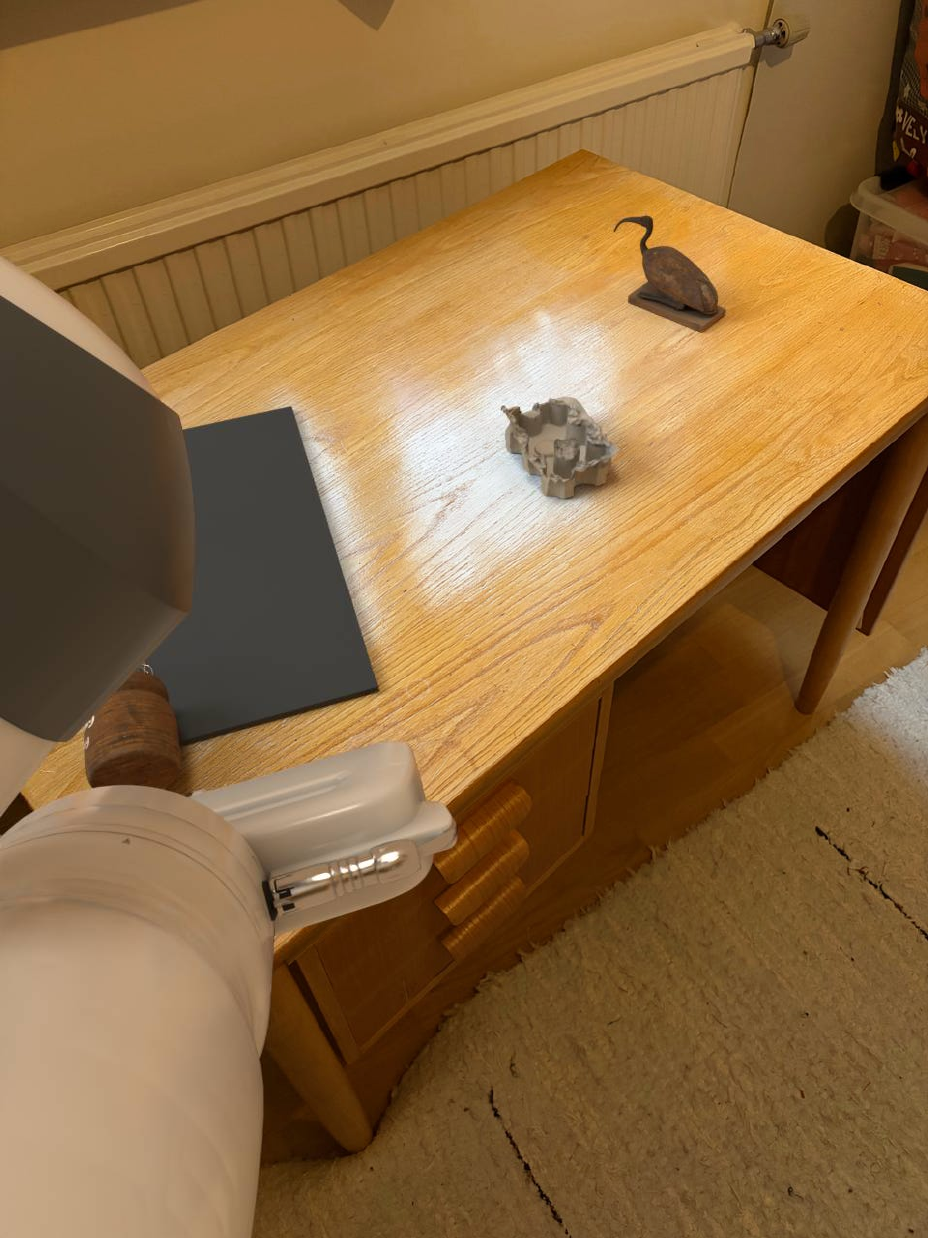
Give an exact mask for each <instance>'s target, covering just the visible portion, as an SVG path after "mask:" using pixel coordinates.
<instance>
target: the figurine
mask: <svg viewBox="0 0 928 1238" xmlns="http://www.w3.org/2000/svg"><path fill="white" fill-rule="evenodd" d="M623 223H624V224H625V223H632V224H637V225H639V226H640V227H643V228H645V233H644V235H643V236H642V237H641V238H640V241H639V250H640V253H641V266H642V270H643V272H644V276H645V277H644V278H645V279H646V281H647V282H645V283H644V284H642V285H641V286H639V287H638V288H636V290H634V291H632V292H631V293H630V294H628V297H627V302H628V303H629V304H630V305H631V304H632V305H634V306H636V307H639V308H641V309H644V310H646V311H648V312H650V313H653V314H655V315H658V316H660V317H662V318H665V319H667V320H670V321H672V322H674V323H677V324H679V325H682V326H684V327H686V328H689V329H692V330H694V331H697V332H699V333H703V332H704V331H706V330H707V329H708V328H710V327H712V326H713V325H714V324H715V323H716V322H718V321H719V320H720V319H722V318H723V317H724V316H725V315H726V312H727V309H726V308H725V307H724V306H720V305H719V295H718V294H719V293H718V291H717V288H716V287H715V286H714V284H713V282H712V281H711V280H710V278H709V277H708V276H707V274H706V273H705V272H703V271H702V269H701V267H698V265H697V264H696V263H694V262H693V261H692V260H691V259H690V257H688V256H686V255H685V254H684V253H682V251H680V250H678V249H676V248H674V247H672V246H670V245H669V246H668V245H658V246H654V247H650V248H649V247H648V246H647V241H648V240H649V238H650V237H651V236H652V234H653V230H654V219H653V217H652V216H650V215H642V216H629V217H625V218H622V219H621V220H619V221H618V222H617V223H616V225H615V227H614V228H613V231H612V232H613V233H616V232H617V230H618V227H619V226H620V225H621V224H623Z"/></svg>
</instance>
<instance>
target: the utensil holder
mask: <svg viewBox="0 0 928 1238" xmlns="http://www.w3.org/2000/svg"><path fill="white" fill-rule="evenodd" d="M143 663H144V662H143ZM141 665H144V672H140V671H139V670H138V671H135V672H134V673H133V674H132V675H131V676H130V677H129V678H128V679H127V680H126V681H125V682H124V684H123V685H122V686H121V687H120V688H119V689H118V690H117V691H116V692H115V693H114V694H113V695H112V696H111V697H110V699H109V700H108V701H107V702H106V703H105V704H104V705H103V706H102V707H101V708H100V709H99V710H98V711H97V712H96V714H95V715H94V716H93V717H92V718H91V719H90V720H89V721H88V722H87V723H86V724H85V725H84V726H83V751H84V753H83V754H84V768H85V769H84V771H85V777H86V780H87V782H88V784H89V786H90V788H91V789H92V788H97V787H105V786H114V785H135V786H147V787H153V788H158V789H163V790H166V789H167V788H169V786H171V785H172V784H173V783H174V782H175V781H176V779H177V778H178V777H179V774H180V771H181V750H180V749H181V746H179V738H178V729H177V722H176V717H175V713H174V711H173V708H172V707H171V705H170V704H169V695H168V692H167V689H166V686H165V684H164V683H163V681H162V680H161V679H159V678H158V677H156V676H154V675H153V672H152V674H149V673H146V672H147V671H146V670H145V664H141ZM146 666H148V665H146ZM139 667H140V666H139ZM148 667H149V666H148ZM140 668H142V667H140ZM142 669H143V668H142ZM150 669H151V668H150ZM151 670H152V669H151ZM145 671H146V672H145Z"/></svg>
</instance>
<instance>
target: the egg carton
mask: <svg viewBox="0 0 928 1238" xmlns="http://www.w3.org/2000/svg"><path fill="white" fill-rule="evenodd" d="M500 411H502V414H505V415H506V419H507V420H509V423H508V425H507V427H506V429H505V432H504V440H505V447H506V450H507V452H509V453H510V454H521V460H522V463H521V465H522V470H525V472H527V474H528V475H537V476H541V480H540V482H541V483H540V491H541V492H542V494H543V495H544V496H545V497H552V496H553V497H558V498H561V499H567V498H571V497H574V496H575V494H574V493H575V487H576V486H577V485H582V484H586V485H587V484H589V485H594V486H595V487H598V486H601V485H604V484H606V483H607V477H608V474H610V472H611V468H612V460H613V459H612V458H613V456H615V454H617V453H618V452H619V451H620V450H621V448H620V447H619V446H618V445H616V444H615V443H614V442H613V441H610V440H609V438H608V435H607V434H605V433H604V431H603V428H602V426H601V425H599V424H598V423H597V422H596V421H595V420H594V418H592V416H590V415H589V414H588V413H587V411H586V409H585V408H584V406H583V405H582V404H581V402H580V401H579V400H578V399H577V398H575V397H573V396H561V397H558V398H549V399H548V400H547V401H546V402H544V403H539V402H535V403H534V404H533V405H532V408H531V410H528V411H525V412H523V411H522V410H521V407H520V406H512V407H509V408H508V407H506V405H502V406H501V407H500Z"/></svg>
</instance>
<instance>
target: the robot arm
mask: <svg viewBox="0 0 928 1238" xmlns="http://www.w3.org/2000/svg"><path fill="white" fill-rule="evenodd" d="M195 546H196V536H195V511H194V499H193V488H192V481H191V473H190V465H189V460H188V454H187V449H186V443H185V438H184V434H183V425H182V421H181V416H180V415H179V414H178V413H177V412H176V411H175V410H173V408H171V407H170V406H168V405H167V404H166V403H164V402H163V401H162V400H161V398H160V396H159V394H158V393H157V391H156V390H155V388H154V387H153V386H152V384H151V383H150V382H149V380H148V378H147V377H146V376H145V375H144V373H143V372H142V371H141V369H140V368H139V367H138V365H136V364H135V362H134V361H133V360H132V359H131V358H130V357H129V356H128V355H127V353H126V352H124V350H123V349H122V348H121V347H120V346H119V345H118V344H117V343H116V342H115V341H114V340H113V339H111V338H110V336H108V335H107V334H106V333H105V331H103V330H102V329H101V328H100V327H99V326H98V325H97V324H96V323H95V322H93V321H92V320H91V319H90V318H89V317H87V316H86V315H85V314H83V312H81V310H79V309H78V308H76V307H75V305H73V304H72V303H71V302H69V300H67V299H65V298H64V297H63V296H61V295H60V294H58V293H57V292H55V291H54V290H53V289H51V288H50V287H49V286H47V285H46V284H45V283H43V282H42V281H40V280H39V279H37V278H36V277H34V276H33V275H31V274H29V273H28V272H27V271H25V270H23V269H22V268H20V267H19V266H17V265H15V264H14V263H13V262H11V261H9V260H8V259H7V258H5V257H3V256H2V255H0V818H1V817H2V816H3V814H4V813H5V812H6V811H7V809H8V808H9V806H10V805H11V804H12V802H13V801H14V800H15V799H16V798H17V796H18V795H19V794H20V793H21V791H22V790H23V789H24V787H25V786H26V785H27V783H28V782H29V781H30V779H32V777H33V776H34V774H35V773H36V772H37V771H38V769H39V768H40V767H41V765H42V764H43V763H44V762H45V761H46V759H47V758H48V757H49V755H50V754H51V753H52V752H53V750H54V749H55V747H56V746H57V745H58V744H59V743H67V742H69V741H71V740H72V739H74V737H75V736H76V735H78V733H79V732H80V731H81V730H82V729H83V728H84V725H85V724H86V723H87V722H88V721H89V720H90V719H91V718H92V717H93V716H94V715H95V714H96V712H97V711H98V710H99V709H100V708H101V707H102V706H103V705H104V704H105V703H106V702H107V701H108V700H109V699H110V697H111V696H112V695H113V694H114V693H115V692H116V691H117V690H118V689H119V688H120V687H121V686H122V685H123V684H124V682H125V681H126V680H127V679H128V678H129V677H130V676H131V675H132V674H133V673H134V672H135V671H136V670H137V669H138V667H139V666H140V665H141V664H142V663H143V662H144V661H145V660H146V659H147V658H148V657H149V656H150V655H151V654H152V652H153V651H154V650H155V649H156V648H157V647H158V646H159V645H160V644H161V643H162V642H163V641H164V640H165V639H166V637H167V636H168V635H169V634H170V633H171V632H172V631H173V630H174V629H175V628H176V627H177V626H178V625H179V624H180V622H181V621H182V620H183V619H184V618H185V617H186V616H187V615H188V614H189V613H190V611H191V606H192V598H193V589H194V575H195ZM458 833H459V825H458V822H457V821H456V820H455V818H454V816H453V815H452V813H451V812H450V810H449V808H448V807H447V805H446V804H445V803H442V802H440V801H437V800H427V797H426V792H425V788H424V784H423V781H422V778H421V774H420V771H419V767H418V764H417V760H416V757H415V753H414V750H413V747H412V745H411V744H410V743H408V742H406V741H401V740H388V741H380V742H376V743H371V744H368V745H365V746H361V747H358V748H354V749H351V750H348V751H345V752H340V753H337V754H334V755H330V756H326V757H324V758H319V759H316V760H313V761H309V762H305V763H303V764H299V765H295V766H291V767H288V768H284V769H280V770H277V771H274V772H271V773H267V774H264V775H260V776H257V777H253V778H249V779H246V780H241V781H238V782H236V783H232V784H229V785H225V786H222V787H218V788H215V789H211V790H207V789H206V788H200V789H198V790H194V791H190V792H187V793H184V794H179V792H178V793H177V792H174V791H170V790H167V789H158V788H153V787H147V786H135V785H114V786H105V787H97V788H92V787H91V788H87V789H83V790H80V791H76V792H73V793H70V794H66V795H64V796H62V797H59V798H56V799H55V800H52V801H50V802H48V803H46V804H44V805H42V806H40V807H38V808H37V809H35V810H34V811H32V812H30V813H29V814H27V815H26V816H24V817H23V818H21V819H20V820H19V821H18V822H16V823H15V824H14V825H13V826H11V827H10V828H9V829H8V830H7V831H5V832H4V833H3V834H0V1238H252V1234H253V1226H254V1219H255V1212H256V1205H257V1196H258V1187H259V1179H260V1178H259V1177H260V1168H261V1167H260V1165H261V1154H262V1143H263V1142H262V1141H263V1127H264V1126H263V1125H264V1083H263V1082H264V1081H263V1074H262V1073H263V1072H262V1065H261V1060H260V1059H261V1056H262V1053H263V1049H264V1046H265V1041H266V1037H267V1033H268V1027H269V1021H270V1010H271V994H272V984H273V983H272V981H273V966H274V950H275V938H276V937H277V936H280V935H283V934H287V933H290V932H293V931H297V930H300V929H303V928H306V927H309V926H312V925H315V924H318V923H321V922H324V921H328V920H332V919H334V918H338V917H341V916H343V915H348V914H351V913H353V912H356V911H359V910H363V909H366V908H370V907H372V906H376V905H378V904H382V903H384V902H386V901H389V900H391V899H394V898H396V897H398V896H401V895H402V894H405V893H407V892H408V891H410V890H412V889H414V888H415V887H417V886H418V885H419V884H420V883H421V882H422V881H424V880H425V878H426V877H427V876H428V874H429V873H430V871H431V868H432V867H433V863H434V858H435V854H437V853H441V852H443V851H447V850H450V849H452V848H454V847H455V845H456V844H457V841H458Z"/></svg>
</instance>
